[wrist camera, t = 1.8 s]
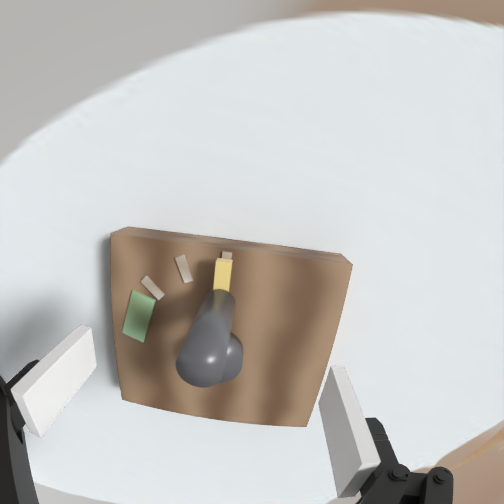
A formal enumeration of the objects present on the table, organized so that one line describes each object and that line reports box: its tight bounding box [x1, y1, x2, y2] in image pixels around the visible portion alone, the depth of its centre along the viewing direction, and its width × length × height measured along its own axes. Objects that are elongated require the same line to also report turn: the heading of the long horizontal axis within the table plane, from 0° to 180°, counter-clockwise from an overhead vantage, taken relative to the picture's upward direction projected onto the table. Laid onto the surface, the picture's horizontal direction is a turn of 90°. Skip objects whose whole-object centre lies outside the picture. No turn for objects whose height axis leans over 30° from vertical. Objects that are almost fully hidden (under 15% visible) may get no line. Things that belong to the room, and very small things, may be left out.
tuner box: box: [110, 227, 353, 427], centre depth 29 cm, size 22×20×4 cm
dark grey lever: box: [176, 258, 243, 388], centre depth 21 cm, size 5×12×11 cm, turn 173°
